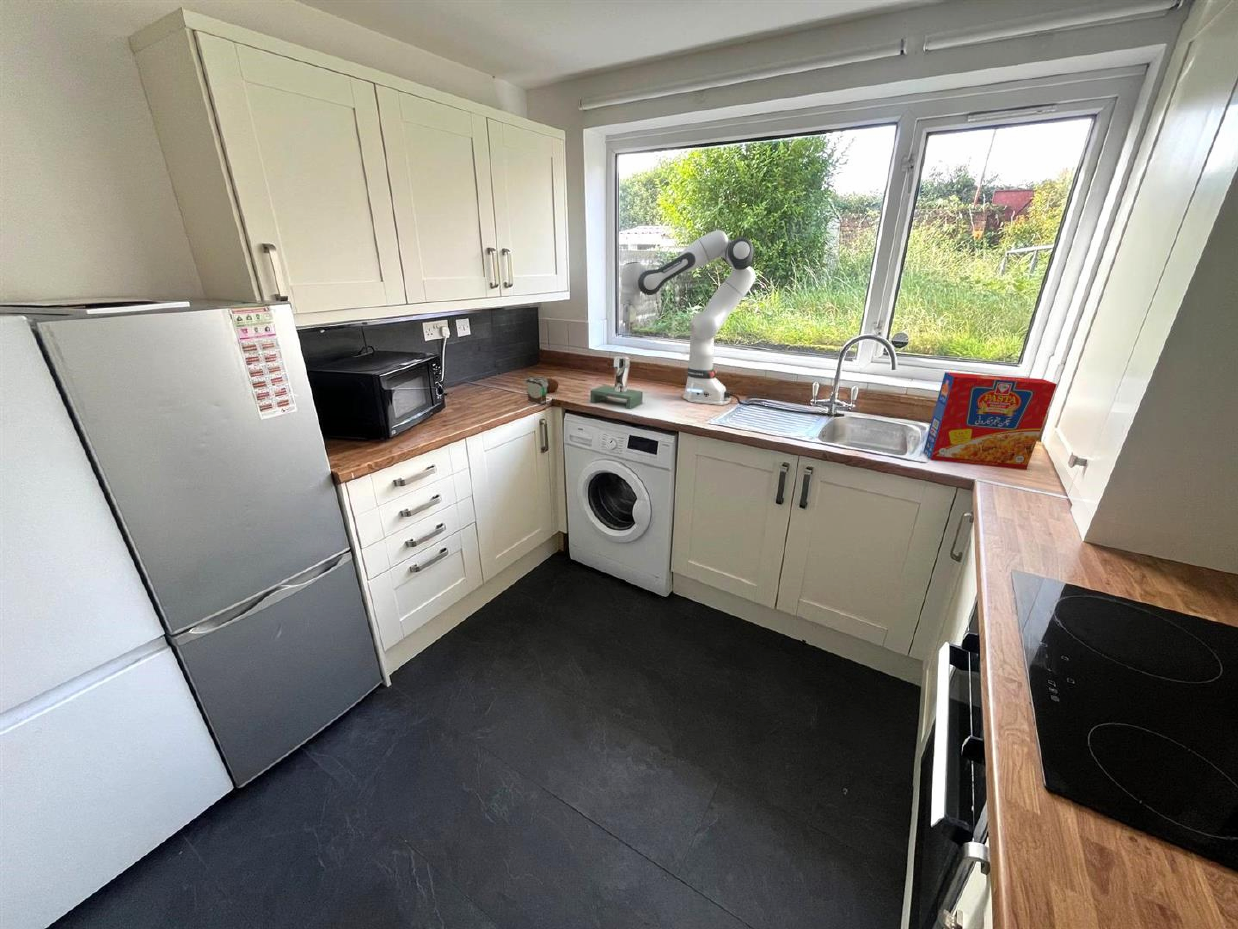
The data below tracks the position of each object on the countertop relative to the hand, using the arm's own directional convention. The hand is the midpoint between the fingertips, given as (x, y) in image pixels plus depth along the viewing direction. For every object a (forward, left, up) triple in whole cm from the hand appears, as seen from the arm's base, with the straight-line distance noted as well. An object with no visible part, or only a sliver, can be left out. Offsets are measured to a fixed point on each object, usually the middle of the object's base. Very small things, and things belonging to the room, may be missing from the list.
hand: (628, 331), depth 230 cm
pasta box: (-140, +15, -29) cm, 144 cm away
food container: (+23, +38, -29) cm, 53 cm away
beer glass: (-7, +19, -24) cm, 31 cm away
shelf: (-5, +19, -29) cm, 35 cm away
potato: (+31, +19, -29) cm, 47 cm away
